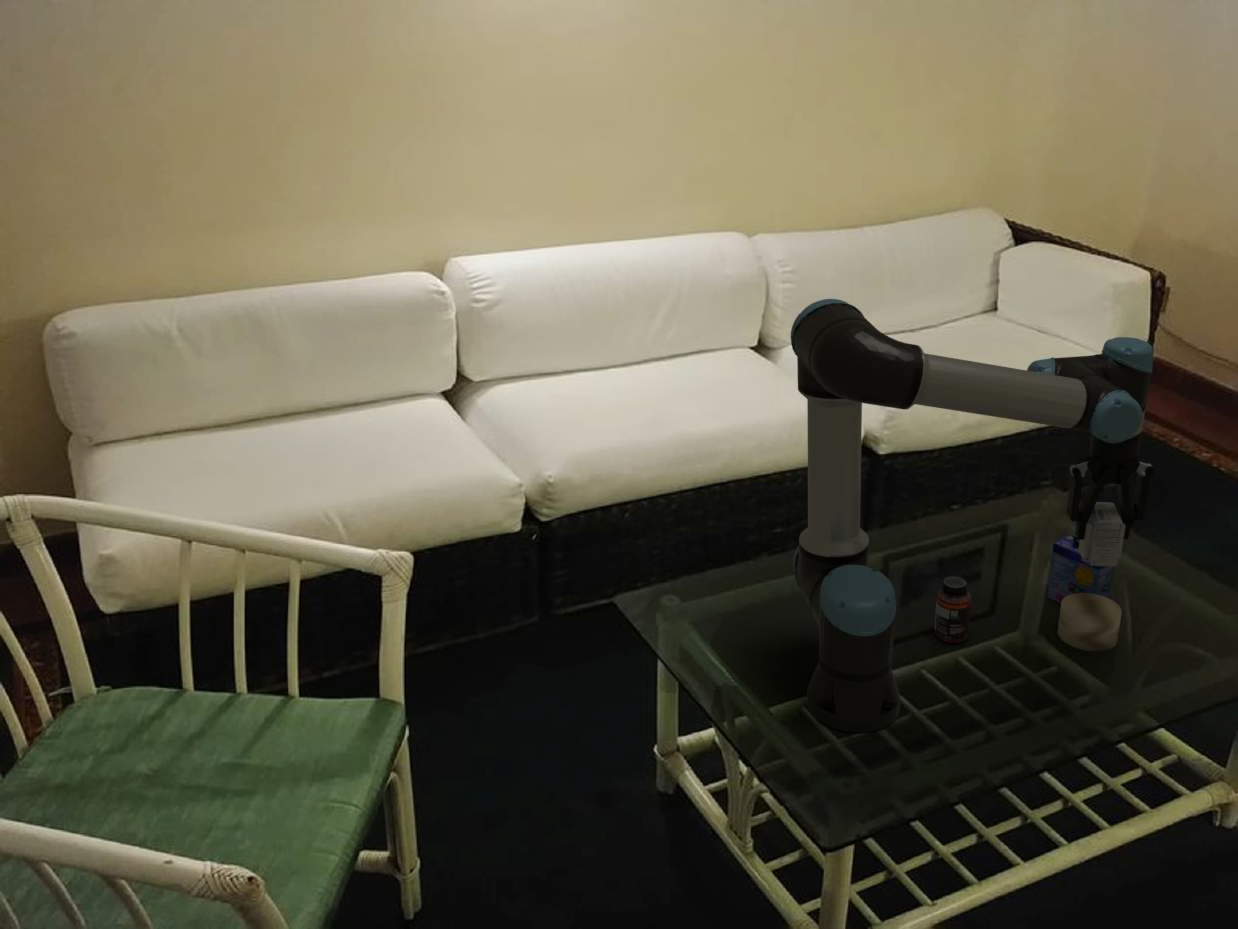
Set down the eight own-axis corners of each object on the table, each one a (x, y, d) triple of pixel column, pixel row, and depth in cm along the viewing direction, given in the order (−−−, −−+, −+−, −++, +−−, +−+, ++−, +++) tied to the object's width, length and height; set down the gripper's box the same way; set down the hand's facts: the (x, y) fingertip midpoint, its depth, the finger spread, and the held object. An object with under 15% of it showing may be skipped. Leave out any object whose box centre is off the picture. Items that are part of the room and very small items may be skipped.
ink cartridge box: (1044, 598, 215) (1053, 530, 209) (1061, 588, 218) (1070, 521, 212) (1092, 619, 208) (1102, 549, 202) (1108, 608, 211) (1119, 539, 205)
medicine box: (1116, 568, 192) (1124, 522, 189) (1089, 566, 193) (1096, 521, 190) (1107, 546, 199) (1115, 502, 196) (1081, 544, 200) (1087, 500, 197)
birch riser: (1066, 651, 199) (1070, 622, 197) (1050, 621, 208) (1054, 593, 206) (1125, 651, 198) (1129, 622, 196) (1106, 621, 207) (1111, 592, 205)
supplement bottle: (955, 624, 208) (960, 570, 204) (974, 640, 203) (980, 586, 199) (927, 630, 207) (931, 577, 202) (945, 647, 202) (950, 592, 197)
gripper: (1067, 440, 184) (1052, 565, 194) (1181, 439, 183) (1160, 565, 192) (1055, 423, 191) (1040, 544, 200) (1164, 421, 189) (1144, 544, 199)
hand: (1099, 554), depth 196 cm, fingers closed on medicine box, 5 cm apart
